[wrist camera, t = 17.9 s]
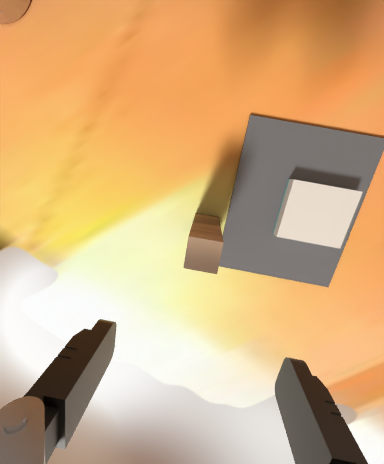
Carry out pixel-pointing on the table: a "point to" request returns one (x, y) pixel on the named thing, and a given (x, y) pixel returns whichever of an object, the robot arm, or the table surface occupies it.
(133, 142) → the table surface
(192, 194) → the table surface
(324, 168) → the mat
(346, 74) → the table surface
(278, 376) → the robot arm
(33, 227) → the table surface
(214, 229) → the walnut stick
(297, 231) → the tile
